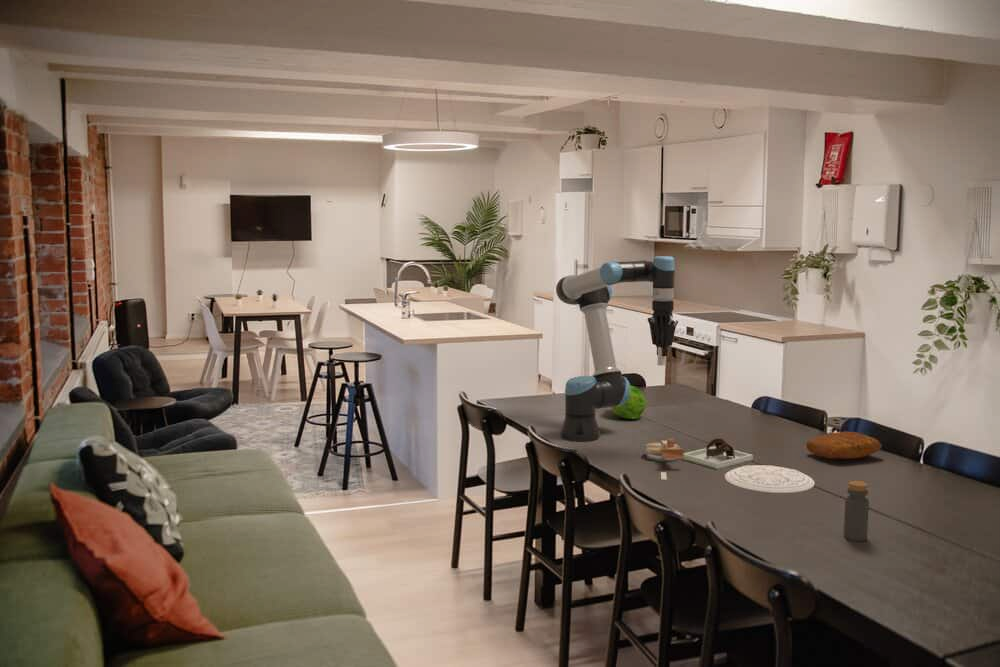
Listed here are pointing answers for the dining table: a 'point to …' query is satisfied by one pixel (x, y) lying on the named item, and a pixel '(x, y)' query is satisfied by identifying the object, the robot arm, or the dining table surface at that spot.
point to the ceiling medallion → (769, 479)
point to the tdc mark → (663, 476)
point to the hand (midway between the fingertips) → (661, 364)
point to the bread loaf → (843, 445)
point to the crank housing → (658, 457)
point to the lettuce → (632, 405)
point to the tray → (716, 458)
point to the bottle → (856, 512)
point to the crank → (665, 449)
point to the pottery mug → (719, 448)
